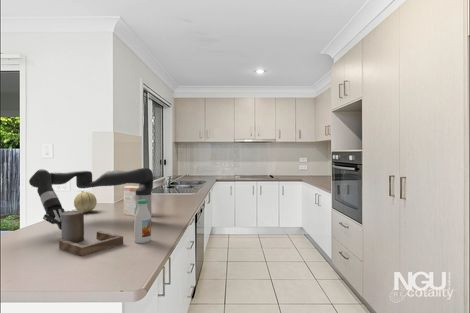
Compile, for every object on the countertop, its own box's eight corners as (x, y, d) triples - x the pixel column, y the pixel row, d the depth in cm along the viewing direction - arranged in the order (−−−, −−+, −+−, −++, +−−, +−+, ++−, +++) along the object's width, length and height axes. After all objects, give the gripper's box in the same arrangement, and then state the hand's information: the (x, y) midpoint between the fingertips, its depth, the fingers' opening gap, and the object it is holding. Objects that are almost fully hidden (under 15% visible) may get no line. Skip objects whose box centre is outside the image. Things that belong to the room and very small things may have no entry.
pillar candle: (87, 237, 150) (87, 207, 150) (78, 243, 140) (77, 211, 140) (68, 237, 149) (67, 208, 149) (57, 243, 140) (56, 211, 140)
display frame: (59, 248, 132) (59, 240, 132) (100, 237, 149) (100, 230, 149) (81, 256, 123) (81, 247, 123) (123, 243, 140) (123, 236, 140)
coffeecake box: (146, 215, 204) (146, 186, 204) (137, 217, 198) (137, 187, 198) (131, 212, 212) (131, 185, 212) (123, 214, 206) (123, 186, 206)
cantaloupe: (90, 214, 205) (90, 192, 204) (69, 214, 205) (69, 192, 205) (100, 210, 219) (100, 190, 219) (80, 210, 220) (80, 189, 219)
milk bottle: (135, 244, 139) (135, 201, 139) (133, 240, 146) (133, 199, 146) (152, 242, 143) (152, 200, 142) (149, 238, 149) (149, 198, 149)
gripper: (61, 204, 162) (73, 230, 156) (34, 208, 151) (46, 236, 145) (66, 195, 159) (79, 221, 153) (39, 198, 148) (51, 227, 142)
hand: (63, 228), depth 149 cm, fingers closed
